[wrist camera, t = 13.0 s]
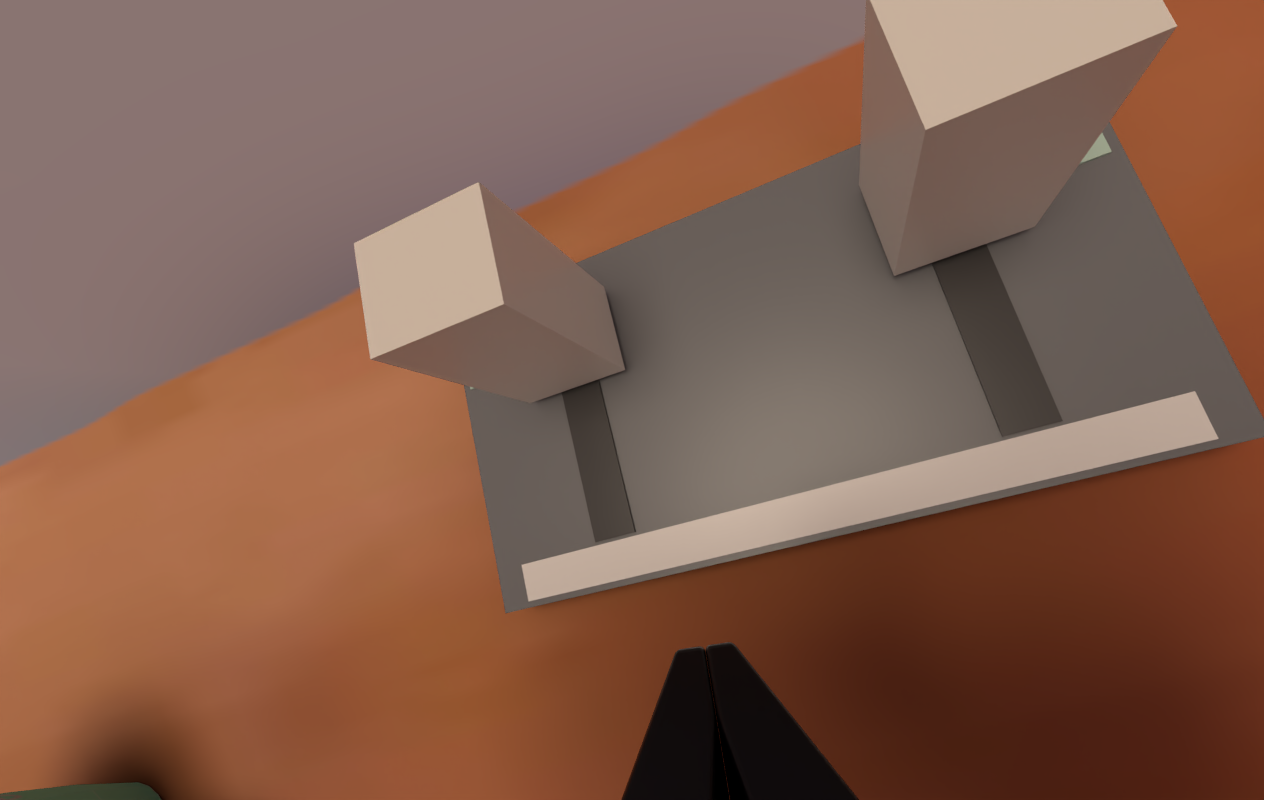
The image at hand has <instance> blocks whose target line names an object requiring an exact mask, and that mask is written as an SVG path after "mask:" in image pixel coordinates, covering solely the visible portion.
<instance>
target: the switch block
mask: <svg viewBox="0 0 1264 800" xmlns="http://www.w3.org/2000/svg"><path fill="white" fill-rule="evenodd" d="M860 146H861V144H859V145H857V146H854V147H852V148H850V149H847V150H845V151H842V152H840V153H838V154H835V155H833V156H831V157H828V158H826V159H823V160H821V161H819V162H816V163H814V164H811V165H809V166H807V167H804V168H802V169H800V170H797V171H795V172H792V173H790V174H788V175H785V176H783V177H780V178H778V179H776V180H773V181H771V182H769V183H766V184H764V185H761V186H759V187H757V188H754V189H752V190H749V191H747V192H745V193H742V194H740V195H738V196H735V197H733V198H730V199H728V200H726V201H723V202H721V203H718V204H716V205H714V206H711V207H709V208H707V209H704V210H702V211H699V212H697V213H695V214H692V215H690V216H687V217H685V218H683V219H680V220H678V221H676V222H673V223H671V224H668V225H666V226H664V227H661V228H659V229H656V230H654V231H652V232H649V233H647V234H645V235H642V236H640V237H637V238H635V239H633V240H630V241H628V242H625V243H623V244H621V245H618V246H616V247H614V248H611V249H609V250H606V251H604V252H602V253H599V254H597V255H594V256H592V257H590V258H587V259H585V260H583V261H580V262H578V263H576V264H577V265H578V266H580V267H581V268H582V269H583V270H584V271H586V272H587V273H588V274H589V275H590V276H592V277H593V278H594V279H595V280H596V281H598V282H599V283H600V284H601V285H602V286H604V288H605V292H606V296H607V300H608V304H609V308H610V312H611V316H612V320H613V324H614V328H615V332H616V336H617V340H618V344H619V347H620V351H621V355H622V359H623V363H624V367H625V370H624V371H621V372H618V373H615V374H612V375H609V376H606V377H604V378H601V379H598V380H595V381H592V382H589V383H586V384H584V385H581V386H578V387H575V388H572V389H569V390H566V391H564V392H561V393H558V394H555V395H552V396H549V397H546V398H544V399H541V400H538V401H535V402H532V403H527V402H524V401H520V400H516V399H513V398H509V397H506V396H502V395H498V394H495V393H491V392H488V391H484V390H480V389H477V388H473V387H469V386H466V385H464V388H465V393H466V399H467V404H468V410H469V415H470V421H471V426H472V432H473V437H474V442H475V448H476V453H477V459H478V464H479V470H480V475H481V481H482V486H483V492H484V497H485V503H486V508H487V514H488V519H489V525H490V530H491V536H492V541H493V547H494V552H495V557H496V563H497V568H498V574H499V579H500V585H501V590H502V596H503V601H504V607H505V612H506V613H509V612H513V611H517V610H521V609H526V608H530V607H534V606H539V605H543V604H547V603H552V602H556V601H560V600H565V599H569V598H573V597H577V596H582V595H586V594H590V593H595V592H599V591H603V590H608V589H612V588H616V587H620V586H625V585H629V584H633V583H638V582H642V581H646V580H651V579H655V578H659V577H664V576H668V575H672V574H676V573H681V572H685V571H689V570H694V569H698V568H702V567H707V566H711V565H715V564H720V563H724V562H728V561H732V560H737V559H741V558H745V557H750V556H754V555H758V554H763V553H767V552H771V551H775V550H780V549H784V548H788V547H793V546H797V545H801V544H806V543H810V542H814V541H819V540H823V539H827V538H831V537H836V536H840V535H844V534H849V533H853V532H857V531H862V530H866V529H870V528H875V527H879V526H883V525H887V524H892V523H896V522H900V521H905V520H909V519H913V518H918V517H922V516H926V515H931V514H935V513H939V512H943V511H948V510H952V509H956V508H961V507H965V506H969V505H974V504H978V503H982V502H986V501H991V500H995V499H999V498H1004V497H1008V496H1012V495H1017V494H1021V493H1025V492H1030V491H1034V490H1038V489H1042V488H1047V487H1051V486H1055V485H1060V484H1064V483H1068V482H1073V481H1077V480H1081V479H1086V478H1090V477H1094V476H1098V475H1103V474H1107V473H1111V472H1116V471H1120V470H1124V469H1129V468H1133V467H1137V466H1141V465H1146V464H1150V463H1154V462H1159V461H1163V460H1167V459H1172V458H1176V457H1180V456H1185V455H1189V454H1193V453H1197V452H1202V451H1206V450H1210V449H1215V448H1219V447H1223V446H1228V445H1232V444H1236V443H1241V442H1245V441H1249V440H1253V439H1258V438H1262V437H1264V419H1263V417H1262V415H1261V413H1260V411H1259V409H1258V407H1257V406H1256V404H1255V402H1254V400H1253V398H1252V396H1251V394H1250V392H1249V390H1248V388H1247V386H1246V384H1245V382H1244V380H1243V379H1242V377H1241V375H1240V373H1239V371H1238V369H1237V367H1236V365H1235V363H1234V361H1233V359H1232V357H1231V355H1230V353H1229V352H1228V350H1227V348H1226V346H1225V344H1224V342H1223V340H1222V338H1221V336H1220V334H1219V332H1218V330H1217V328H1216V326H1215V325H1214V323H1213V321H1212V319H1211V317H1210V315H1209V313H1208V311H1207V309H1206V307H1205V305H1204V303H1203V301H1202V299H1201V298H1200V296H1199V294H1198V292H1197V290H1196V288H1195V286H1194V284H1193V282H1192V280H1191V278H1190V276H1189V274H1188V272H1187V271H1186V269H1185V267H1184V265H1183V263H1182V261H1181V259H1180V257H1179V255H1178V253H1177V251H1176V249H1175V247H1174V245H1173V244H1172V242H1171V240H1170V238H1169V236H1168V234H1167V232H1166V230H1165V228H1164V226H1163V224H1162V222H1161V220H1160V218H1159V217H1158V215H1157V213H1156V211H1155V209H1154V207H1153V205H1152V203H1151V201H1150V199H1149V197H1148V195H1147V193H1146V191H1145V190H1144V188H1143V186H1142V184H1141V182H1140V180H1139V178H1138V176H1137V174H1136V172H1135V170H1134V168H1133V166H1132V164H1131V163H1130V161H1129V159H1128V157H1127V155H1126V153H1125V151H1124V149H1123V147H1122V145H1121V143H1120V141H1119V139H1118V137H1117V136H1116V134H1115V132H1114V130H1113V128H1112V126H1111V124H1110V122H1109V123H1108V124H1107V126H1106V127H1105V129H1104V130H1103V131H1102V133H1101V134H1100V136H1099V137H1098V138H1097V140H1096V141H1095V143H1094V144H1093V145H1092V147H1091V148H1090V150H1089V151H1088V153H1087V154H1086V155H1085V157H1084V158H1083V160H1082V161H1081V162H1080V164H1079V165H1078V167H1077V168H1076V169H1075V171H1074V172H1073V174H1072V175H1071V176H1070V178H1069V179H1068V181H1067V182H1066V184H1065V185H1064V186H1063V188H1062V189H1061V191H1060V192H1059V193H1058V195H1057V196H1056V198H1055V199H1054V200H1053V202H1052V203H1051V205H1050V206H1049V207H1048V209H1047V210H1046V212H1045V213H1044V215H1043V216H1042V217H1041V219H1040V220H1039V222H1038V223H1037V224H1036V226H1035V227H1032V228H1030V229H1027V230H1024V231H1021V232H1018V233H1015V234H1012V235H1010V236H1007V237H1004V238H1001V239H998V240H995V241H992V242H990V243H987V244H984V245H981V246H978V247H975V248H972V249H970V250H967V251H964V252H961V253H958V254H955V255H952V256H950V257H947V258H944V259H941V260H938V261H935V262H932V263H930V264H927V265H924V266H921V267H918V268H915V269H912V270H910V271H907V272H904V273H901V274H898V275H895V276H894V275H893V272H892V269H891V267H890V264H889V262H888V259H887V256H886V254H885V251H884V249H883V246H882V244H881V241H880V238H879V236H878V233H877V231H876V228H875V225H874V223H873V220H872V218H871V215H870V212H869V210H868V207H867V205H866V202H865V199H864V197H863V194H862V192H861V189H860V186H859V173H860Z"/></svg>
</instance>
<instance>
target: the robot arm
mask: <svg viewBox="0 0 1264 800" xmlns="http://www.w3.org/2000/svg"><path fill="white" fill-rule="evenodd" d="M706 657H707V659H706ZM707 663H708V665H707ZM708 669H709V671H708ZM709 675H710V677H709ZM710 681H711V683H710ZM711 687H712V689H711ZM712 693H713V695H712ZM713 699H714V701H713ZM714 705H715V707H714ZM715 711H716V713H715ZM716 717H717V719H716ZM717 723H718V725H717ZM718 729H719V731H718ZM719 735H720V737H719ZM720 741H721V743H720ZM721 747H722V749H721ZM722 753H723V755H722ZM723 759H724V761H723ZM724 765H725V767H724ZM725 771H726V773H725ZM726 777H727V779H726ZM727 783H728V785H727ZM728 789H729V791H728ZM729 795H730V798H729ZM622 800H859V799H858V798H857V797H856V795H855V794H854V793H853V792H852V790H851V789H850V788H849V787H848V785H847V784H846V783H845V782H844V780H843V779H842V778H841V777H840V775H839V774H838V773H837V772H836V770H835V769H834V768H833V767H832V765H831V764H830V763H829V762H828V760H827V759H826V758H825V757H824V755H823V754H822V753H821V752H820V750H819V749H818V748H817V747H816V745H815V744H814V743H813V742H812V740H811V739H810V738H809V737H808V735H807V734H806V733H805V732H804V730H803V729H802V728H801V727H800V725H799V724H798V723H797V722H796V720H795V719H794V718H793V717H792V715H791V714H790V713H789V712H788V710H787V709H786V708H785V707H784V705H783V704H782V703H781V702H780V700H779V699H778V698H777V697H776V695H775V694H774V693H773V692H772V690H771V689H770V688H769V687H768V685H767V684H766V683H765V682H764V680H763V679H762V678H761V677H760V675H759V674H758V673H757V672H756V670H755V669H754V668H753V667H752V665H751V664H750V663H749V662H748V660H747V659H746V658H745V657H744V655H743V654H742V653H741V652H740V650H739V649H738V648H737V647H736V646H735V645H734V644H733V643H731V642H728V643H721V644H714V645H708V646H707V647H706V653H705V650H704V648H703V647H693V648H686V649H680V650H678V651H677V652H676V653H675V655H674V658H673V660H672V663H671V666H670V669H669V671H668V674H667V677H666V680H665V682H664V685H663V688H662V690H661V693H660V696H659V699H658V701H657V704H656V707H655V710H654V712H653V715H652V718H651V720H650V723H649V726H648V729H647V731H646V734H645V737H644V740H643V742H642V745H641V748H640V750H639V753H638V756H637V759H636V761H635V764H634V767H633V770H632V772H631V775H630V778H629V781H628V783H627V786H626V789H625V791H624V794H623V797H622Z"/></svg>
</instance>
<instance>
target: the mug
mask: <svg viewBox="0 0 1264 800" xmlns="http://www.w3.org/2000/svg"><path fill="white" fill-rule="evenodd" d="M0 800H161V798H160V796H159V795H158V794H157V793H156V792H155V791H154V790H153V789H152V788H151V787H150V786H148V785H145V784H142V783H139V782H134V783H108V784H83V785H70V786H61V787H53V788H44V789H35V790H27V791H18V792H9V793H2V794H0Z"/></svg>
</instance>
